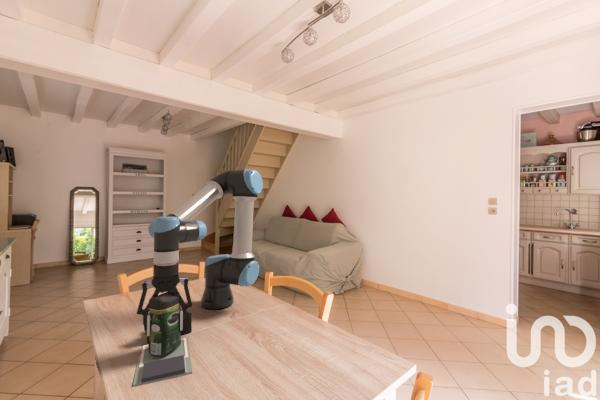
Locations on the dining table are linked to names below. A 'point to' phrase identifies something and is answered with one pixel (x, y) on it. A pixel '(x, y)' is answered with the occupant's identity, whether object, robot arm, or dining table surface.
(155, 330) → the coffee jar
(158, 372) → the pad
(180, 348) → the board
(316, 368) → the dining table surface
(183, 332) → the film camera
